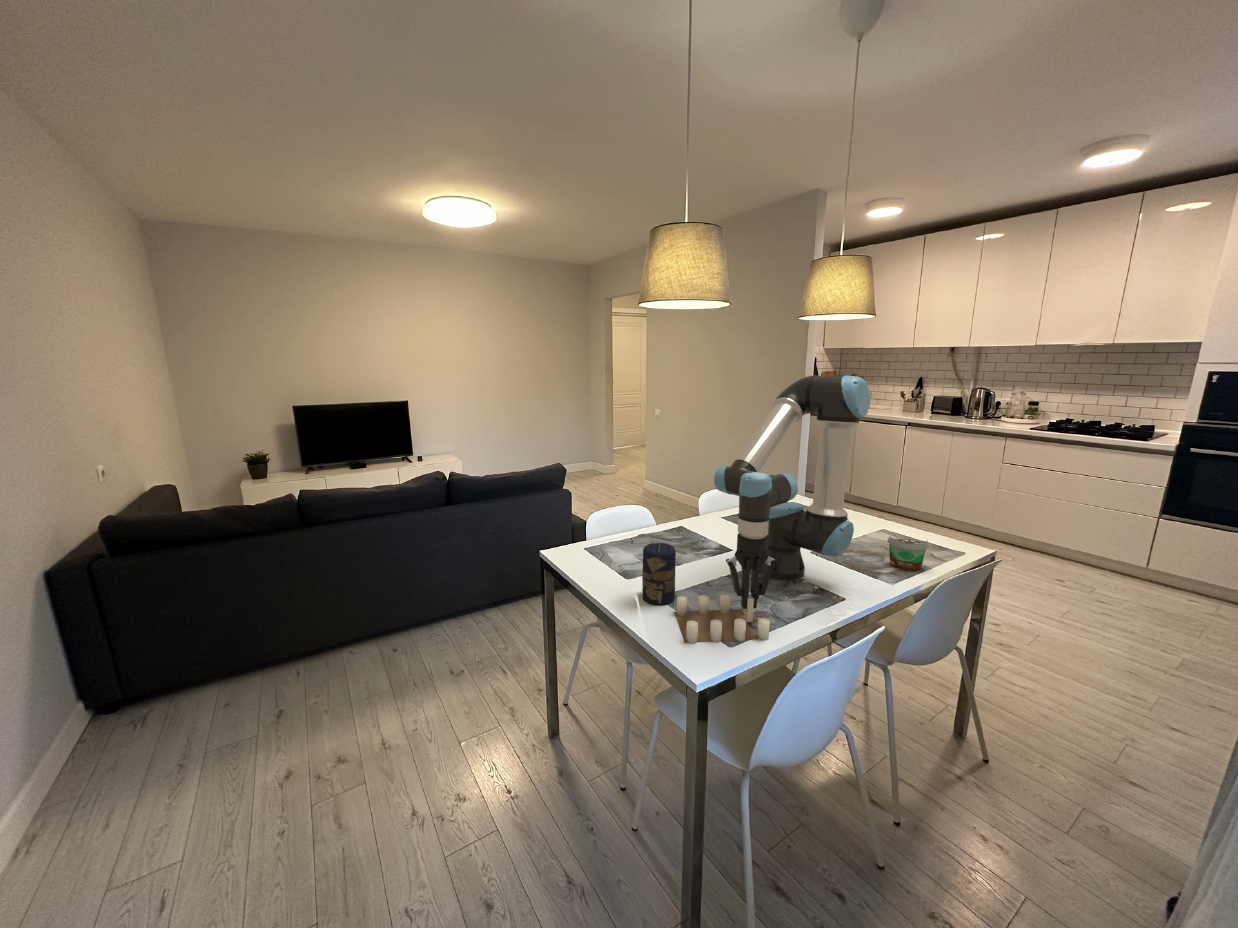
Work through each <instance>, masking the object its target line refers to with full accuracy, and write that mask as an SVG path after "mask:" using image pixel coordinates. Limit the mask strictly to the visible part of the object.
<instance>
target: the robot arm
mask: <svg viewBox="0 0 1238 928" xmlns="http://www.w3.org/2000/svg"><path fill="white" fill-rule="evenodd" d="M870 405H871V392H870V388H869V386H868V383H867V382H866V380H865V379H864V378H862V377H860V376H856V375H815V374H814V375H807V376H804V377H802V378H799V379H798V380H796V381H794V382H792V383H791V384H790V385H788V386H787V387H786V388H785V389H784V390H782V391H781V393H779V394H778V396H777V397H776V398H775V400H774V401H773V403H772V409H771V410H770V412H769V413H768V415H767V416H766V417H765V418H764V420H763V421H762V423H760V425H759V427H758V429H756V431H755V432H754V433H753V435H752V436H751V438H750V439H749V441H747V443H746V444H745V446H744V447H743V449H742V450H741V451H740V452H739V454H738V456H737V457H736V458H735V460H733V463H732V464H731V465H730V466H728V465H724V466H720V467H718V468H717V469H716V471H715V473H714V476H713V484H714V486H715V489H716V490H717V491H719V492H722V493H724V494H727V495H733V496H737V497H738V516H737V517H738V519H737V534H736V536H737V538H736V550H735V553H734V555H733V557H731V558H726V559H725V563H726V564H727V565H728V569H729V572H730V577H731V581H732V587H733V591H734V593H735V594H736V595H737V597H741V598H740V599H741V600H740V607H741V606H742V608H743V609H744V613H743V616H744V618H745V620H746V621H747V622H748V623H750V622H753V611H754V609H755V610H756V609H757V607H758V600H759V598H760V596H765V594H766V592H767V588H768V586H769V582H770V578H772V579H776V580H782V581H783V580H784V581H791V580H792V581H793V580H799V579H800V578H803V577H804V576H805V570H806V567H805V562H804V559H803V556H802V551H801V549H804V550H807V551H811V552H815V553H818V554H821V555H822V556H829V557H832V558H838V557H840V556H842V555H843V554H845V552H846V551H847V549H848V548H849V547H850V544H851V542H852V540H853V535H854V531H855V527H854V523H853V522H851V521H850V520H848V512H847V511H846V509H845V508H844V503H845V502H844V501H845V493H846V486H847V477H848V470H849V462H850V461H849V460H850V453H851V452H850V451H851V444H852V438H853V430H854V429H855V427H856V426H858V425H859V424H860V419H861V418H864V417H866V416H867V414H868V412H869V409H870V408H871V406H870ZM808 414H812V415H816V422H817V423H818V424H819V425H820V433H819V435H820V436H819V445H818V451H817V452H818V454H817V461H816V471H815V478H814V479H815V480H814V488H813V495H812V496H813V498H812V503H811V504H810V505H809V506H807V507H806V510H805V507H804V504H801V503H799V502H789V501H792V500H794V498H795V497H796V496H797V494H798V491H799V486H798V482H797V480H796V479H795V478H794V477H793V476H792V475H790V474H788V473H777V474H769V473H764V472H761V470H762V469H763V467H764V466H765V464H766V463H767V461H769V459H770V458H771V456H772V455H773V454H774V452H775V450H776V449H777V448H778V446H779V445H780V443H781V442H782V441H783V439H784V437H785V436H786V435H787V433H788V432H789V430H790V429H791V427H792V426H793V425H794V423H797V422H799V421H800V420H801V419H802V417H803V416H805V415H808ZM738 564H739V565H740V566H741V584H740V579H739V576H738V575H739V574H738V570H737V568H736V567H737V566H738ZM750 574H751V577H750ZM760 575H761V576H760ZM749 590H750V591H749ZM749 592H750V593H749Z"/></svg>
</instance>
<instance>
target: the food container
mask: <svg viewBox="0 0 1238 928" xmlns="http://www.w3.org/2000/svg"><path fill="white" fill-rule="evenodd" d="M887 543H888V544H889V545H888V546H889V548H888V549H889V555H888V556H889V565H890V566H892V567H893V568H896V569H898V570H902V571H907V572H918V571H921V569H922V567H923V561H924V558H925V555H926V550H928V549H929V548H930V543H929V539H927V540H926V541H920V540H913V539H910V538H909V539H908V538H905V539H903V538H901V539H900V538H899V539H898V538H893V537H891V536H890V535H889V536H888V538H887Z"/></svg>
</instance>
